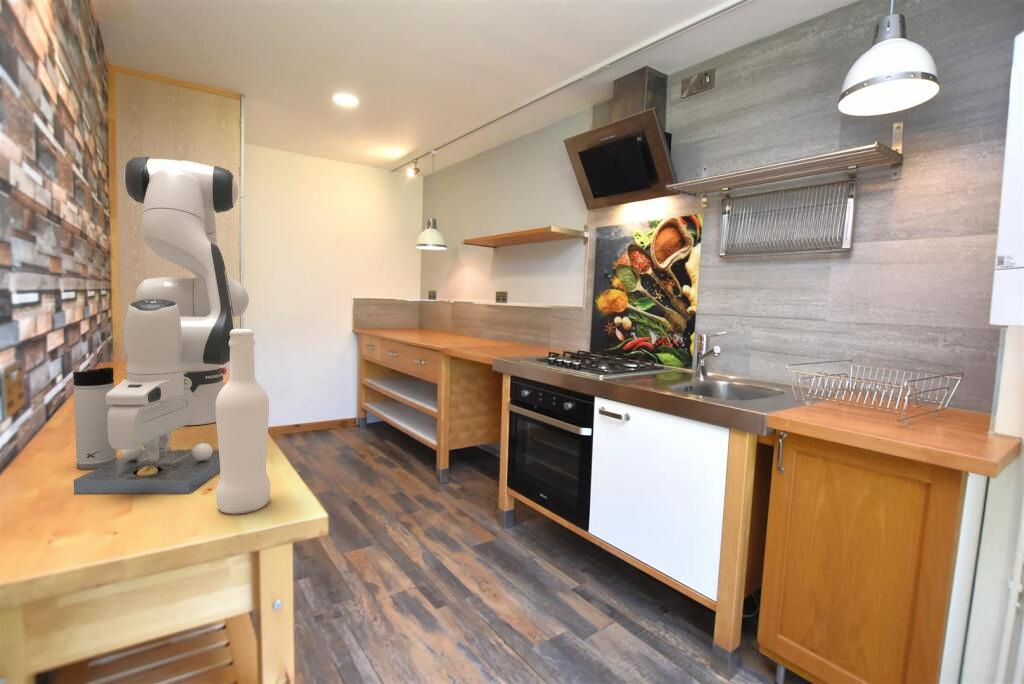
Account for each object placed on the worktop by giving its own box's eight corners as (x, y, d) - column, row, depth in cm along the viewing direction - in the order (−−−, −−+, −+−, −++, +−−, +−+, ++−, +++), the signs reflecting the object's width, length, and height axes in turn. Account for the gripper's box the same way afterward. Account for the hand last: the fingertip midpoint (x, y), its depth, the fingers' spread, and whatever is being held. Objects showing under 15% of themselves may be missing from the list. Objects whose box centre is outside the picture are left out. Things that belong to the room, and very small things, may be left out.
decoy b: (129, 457, 98) (128, 439, 98) (147, 457, 99) (147, 440, 98) (116, 463, 95) (116, 445, 94) (136, 463, 95) (135, 445, 95)
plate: (138, 461, 103) (138, 446, 103) (234, 462, 105) (233, 446, 104) (74, 493, 86) (73, 475, 86) (189, 493, 88) (188, 475, 88)
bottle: (247, 492, 89) (244, 326, 87) (281, 501, 86) (280, 329, 84) (204, 510, 82) (201, 328, 79) (240, 519, 79) (238, 331, 76)
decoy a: (198, 457, 99) (197, 440, 99) (216, 457, 100) (216, 440, 99) (188, 463, 96) (187, 445, 96) (207, 463, 96) (206, 445, 96)
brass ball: (144, 480, 93) (143, 462, 92) (164, 480, 93) (162, 462, 93) (131, 488, 89) (130, 470, 89) (152, 488, 90) (150, 470, 89)
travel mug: (95, 471, 97) (91, 370, 95) (68, 468, 98) (64, 368, 96) (126, 461, 103) (123, 366, 101) (100, 458, 104) (96, 364, 102)
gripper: (171, 377, 103) (172, 442, 104) (97, 396, 82) (100, 477, 84) (203, 378, 103) (204, 442, 104) (138, 397, 83) (140, 477, 84)
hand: (157, 458), depth 94 cm, fingers closed
